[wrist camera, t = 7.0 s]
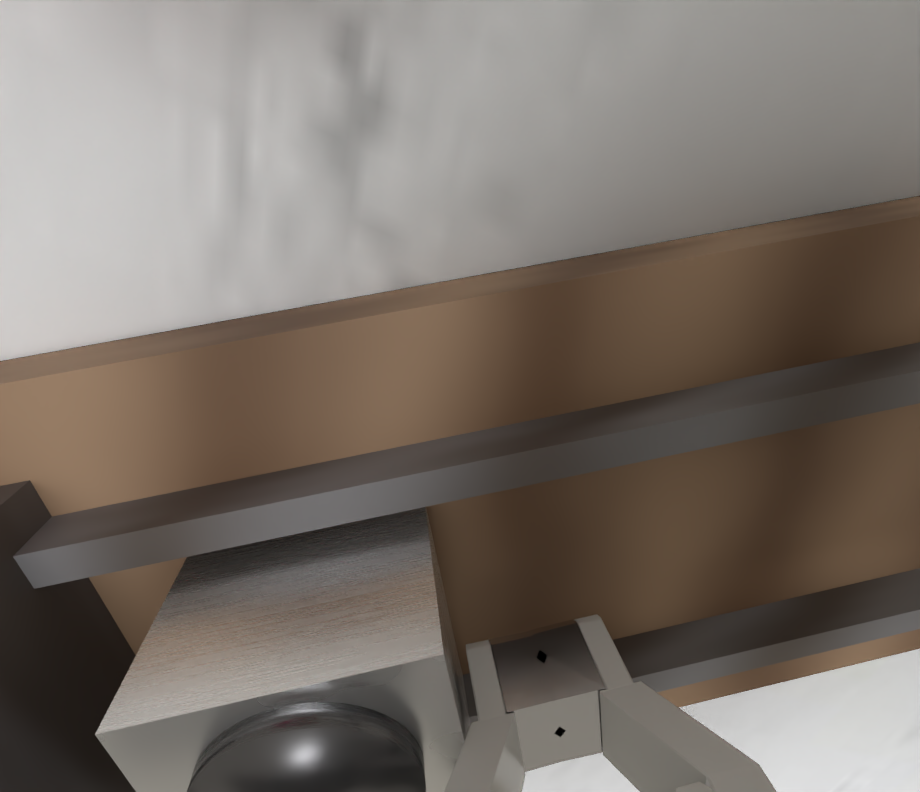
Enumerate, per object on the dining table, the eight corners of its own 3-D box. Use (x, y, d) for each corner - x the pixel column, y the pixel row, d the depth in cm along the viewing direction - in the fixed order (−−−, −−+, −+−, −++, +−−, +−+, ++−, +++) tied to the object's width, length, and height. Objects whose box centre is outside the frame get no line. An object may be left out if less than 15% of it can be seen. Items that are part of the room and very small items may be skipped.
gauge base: (1020, 177, 12) (1682, 176, 6) (900, 593, 18) (1176, 814, 12) (-78, 375, 11) (-745, 659, 4) (172, 765, 17) (41, 1131, 10)
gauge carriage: (424, 497, 11) (447, 678, 7) (479, 749, 15) (514, 961, 11) (193, 545, 11) (79, 765, 7) (309, 791, 14) (280, 1025, 10)
